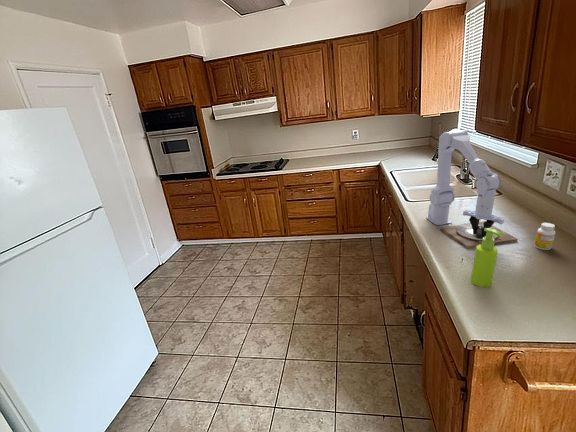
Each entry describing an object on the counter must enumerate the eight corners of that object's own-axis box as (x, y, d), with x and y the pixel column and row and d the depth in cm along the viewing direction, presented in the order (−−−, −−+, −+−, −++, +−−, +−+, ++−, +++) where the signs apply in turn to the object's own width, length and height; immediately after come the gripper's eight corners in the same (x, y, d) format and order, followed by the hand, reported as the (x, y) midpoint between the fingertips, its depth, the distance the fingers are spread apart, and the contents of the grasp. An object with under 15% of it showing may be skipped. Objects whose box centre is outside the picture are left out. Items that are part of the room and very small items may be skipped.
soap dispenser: (486, 290, 98) (496, 236, 91) (467, 280, 104) (475, 228, 97) (498, 285, 100) (509, 231, 93) (478, 275, 106) (487, 224, 99)
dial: (454, 223, 142) (456, 213, 140) (494, 226, 136) (496, 215, 134) (457, 238, 128) (459, 227, 126) (502, 242, 122) (504, 230, 120)
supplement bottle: (534, 242, 123) (539, 220, 119) (551, 245, 119) (557, 223, 116) (533, 248, 119) (538, 226, 115) (551, 251, 116) (557, 228, 112)
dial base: (440, 229, 140) (440, 226, 140) (484, 223, 142) (484, 220, 142) (467, 248, 123) (467, 245, 122) (517, 241, 125) (517, 238, 124)
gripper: (461, 203, 124) (457, 232, 129) (501, 211, 113) (495, 243, 118) (469, 198, 128) (465, 227, 133) (508, 206, 117) (502, 237, 122)
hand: (479, 234), depth 126 cm, fingers closed on dial, 3 cm apart
